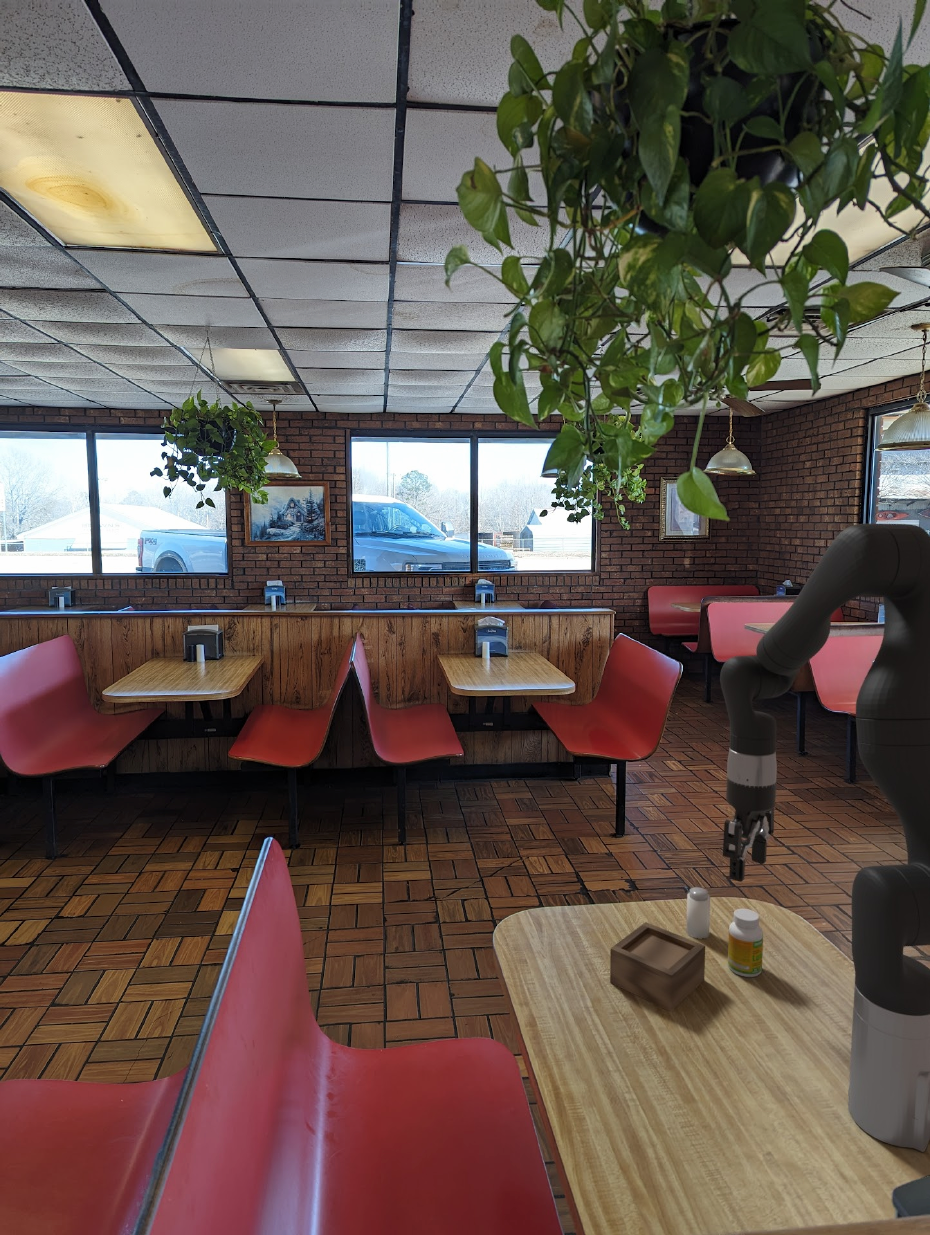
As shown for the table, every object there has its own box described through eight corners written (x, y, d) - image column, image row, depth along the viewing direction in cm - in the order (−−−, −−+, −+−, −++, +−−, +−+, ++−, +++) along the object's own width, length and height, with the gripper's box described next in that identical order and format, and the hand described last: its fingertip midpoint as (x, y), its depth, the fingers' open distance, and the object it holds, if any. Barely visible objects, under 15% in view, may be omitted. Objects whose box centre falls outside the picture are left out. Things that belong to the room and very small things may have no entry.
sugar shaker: (713, 932, 139) (714, 891, 138) (702, 941, 136) (704, 899, 135) (692, 924, 142) (693, 884, 141) (682, 933, 139) (683, 892, 138)
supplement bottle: (756, 982, 124) (758, 926, 123) (723, 970, 128) (724, 916, 126) (765, 966, 129) (767, 912, 127) (733, 955, 132) (735, 903, 131)
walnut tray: (704, 979, 125) (705, 945, 124) (671, 1011, 117) (671, 975, 116) (645, 954, 133) (645, 922, 132) (610, 982, 125) (610, 948, 124)
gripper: (755, 793, 116) (752, 894, 118) (791, 770, 126) (787, 863, 128) (709, 782, 121) (706, 878, 123) (747, 760, 131) (744, 850, 133)
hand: (748, 870), depth 126 cm, fingers open, 8 cm apart
